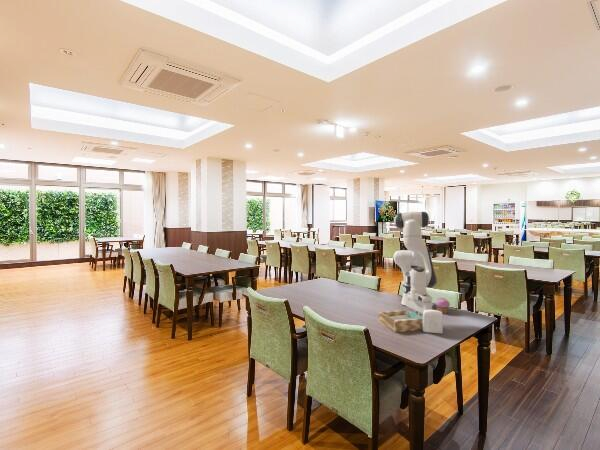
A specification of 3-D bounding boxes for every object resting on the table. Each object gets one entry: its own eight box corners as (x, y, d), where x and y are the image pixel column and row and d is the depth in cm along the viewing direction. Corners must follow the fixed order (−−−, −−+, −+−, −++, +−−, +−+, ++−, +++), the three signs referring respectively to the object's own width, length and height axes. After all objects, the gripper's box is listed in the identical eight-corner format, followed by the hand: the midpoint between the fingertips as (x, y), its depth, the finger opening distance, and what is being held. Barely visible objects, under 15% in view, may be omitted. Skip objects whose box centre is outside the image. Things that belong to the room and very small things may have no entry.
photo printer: (441, 331, 175) (441, 309, 174) (443, 334, 170) (443, 311, 170) (421, 330, 177) (422, 308, 177) (423, 332, 173) (423, 310, 172)
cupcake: (444, 311, 214) (444, 296, 213) (452, 314, 205) (452, 299, 205) (432, 311, 212) (432, 296, 212) (440, 315, 204) (440, 300, 203)
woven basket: (404, 319, 195) (404, 309, 195) (423, 329, 178) (423, 318, 178) (378, 322, 190) (378, 312, 190) (395, 332, 173) (395, 321, 173)
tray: (409, 318, 194) (409, 311, 194) (424, 325, 180) (424, 318, 180) (384, 320, 189) (385, 313, 189) (398, 328, 176) (398, 320, 175)
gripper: (403, 291, 196) (403, 313, 196) (424, 299, 176) (424, 324, 176) (412, 290, 198) (411, 312, 198) (434, 298, 178) (434, 323, 178)
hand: (418, 318), depth 187 cm, fingers closed
